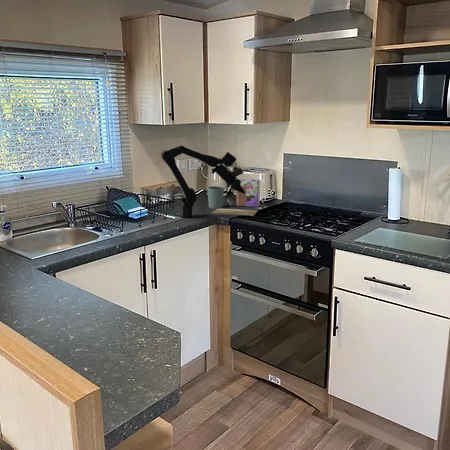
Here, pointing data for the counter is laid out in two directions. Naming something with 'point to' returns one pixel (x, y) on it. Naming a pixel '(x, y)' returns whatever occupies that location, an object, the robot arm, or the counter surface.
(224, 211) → the board
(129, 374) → the counter surface
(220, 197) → the teal cup
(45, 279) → the counter surface
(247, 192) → the candy box
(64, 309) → the counter surface
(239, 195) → the painted block
